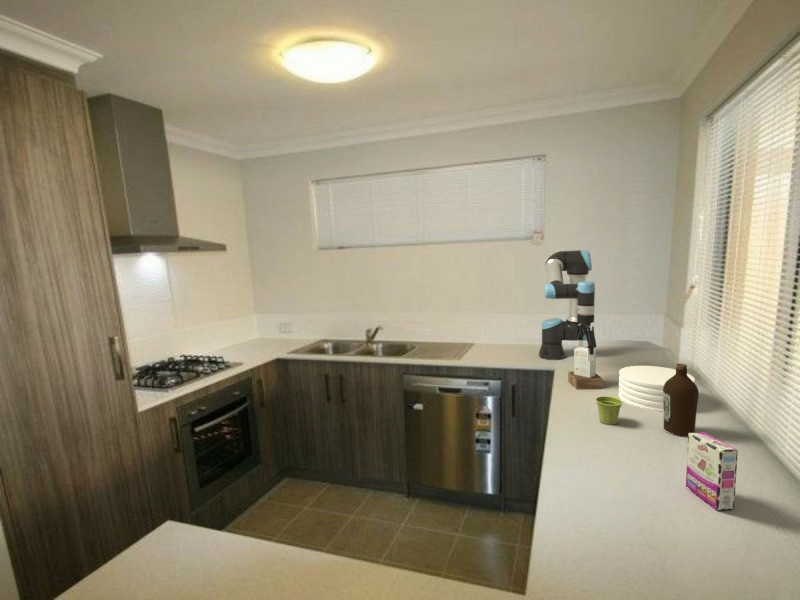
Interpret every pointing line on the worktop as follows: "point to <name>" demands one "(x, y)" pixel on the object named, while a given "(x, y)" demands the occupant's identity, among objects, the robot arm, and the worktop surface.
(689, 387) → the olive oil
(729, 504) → the candy bar box
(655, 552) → the worktop surface
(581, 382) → the block
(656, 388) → the plate stack
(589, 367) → the small box
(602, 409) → the plant pot
